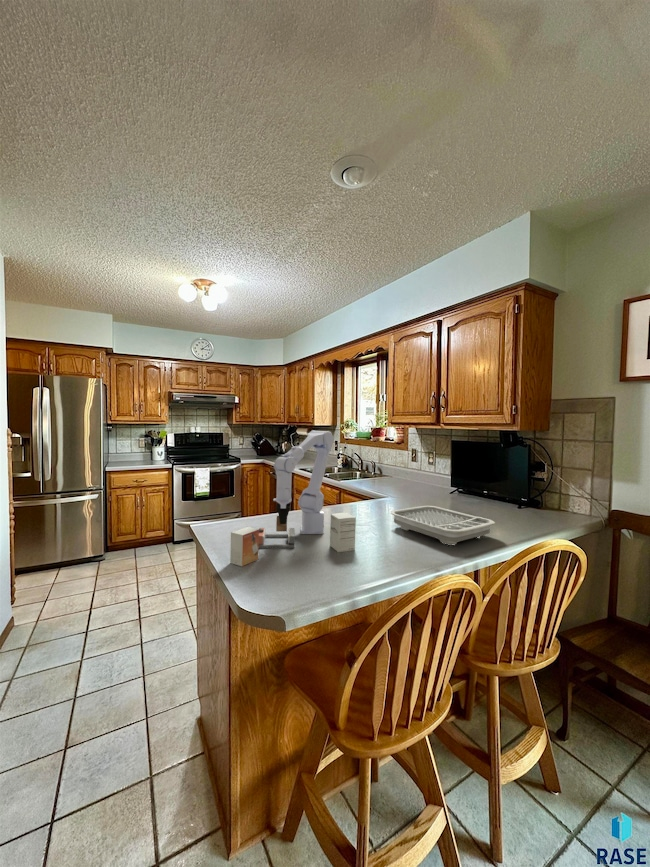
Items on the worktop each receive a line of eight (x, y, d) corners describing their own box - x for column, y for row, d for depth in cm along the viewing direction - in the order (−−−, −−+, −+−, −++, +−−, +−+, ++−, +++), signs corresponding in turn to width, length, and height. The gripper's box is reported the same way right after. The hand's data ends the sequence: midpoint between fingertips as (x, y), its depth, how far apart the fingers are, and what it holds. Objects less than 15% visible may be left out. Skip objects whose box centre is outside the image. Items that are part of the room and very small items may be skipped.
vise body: (294, 536, 145) (294, 526, 145) (294, 548, 132) (294, 537, 132) (252, 536, 143) (252, 527, 143) (248, 548, 130) (248, 537, 130)
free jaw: (265, 537, 142) (265, 525, 142) (263, 546, 132) (263, 533, 132) (259, 537, 142) (259, 525, 142) (257, 546, 132) (257, 533, 132)
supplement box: (329, 546, 135) (330, 513, 134) (346, 543, 138) (347, 511, 137) (337, 552, 128) (338, 518, 128) (355, 550, 131) (356, 516, 131)
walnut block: (286, 528, 140) (287, 515, 139) (286, 531, 136) (286, 518, 136) (276, 528, 139) (276, 515, 139) (276, 531, 135) (276, 518, 135)
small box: (241, 567, 114) (242, 535, 113) (229, 563, 117) (230, 532, 116) (258, 559, 121) (259, 529, 120) (247, 555, 124) (247, 526, 123)
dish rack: (429, 518, 179) (430, 502, 178) (500, 539, 148) (500, 521, 148) (384, 527, 161) (384, 510, 160) (453, 554, 130) (454, 533, 130)
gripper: (274, 484, 144) (273, 517, 144) (272, 491, 129) (271, 527, 130) (291, 484, 144) (291, 517, 145) (291, 491, 130) (291, 527, 131)
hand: (283, 522), depth 137 cm, fingers closed on walnut block, 4 cm apart
